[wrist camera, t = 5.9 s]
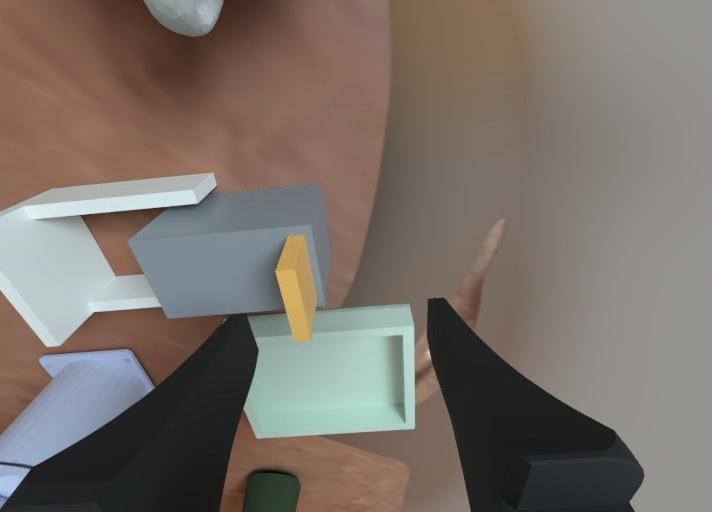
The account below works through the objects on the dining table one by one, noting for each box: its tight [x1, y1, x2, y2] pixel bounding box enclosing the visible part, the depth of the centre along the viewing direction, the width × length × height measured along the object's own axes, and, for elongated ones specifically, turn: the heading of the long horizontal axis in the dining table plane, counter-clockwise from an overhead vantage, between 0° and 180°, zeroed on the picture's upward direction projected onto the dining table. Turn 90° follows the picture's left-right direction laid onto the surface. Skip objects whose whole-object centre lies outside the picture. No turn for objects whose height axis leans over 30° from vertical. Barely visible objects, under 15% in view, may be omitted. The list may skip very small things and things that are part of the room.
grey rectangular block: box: [127, 183, 332, 342], centre depth 18 cm, size 5×9×9 cm, turn 96°
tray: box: [222, 303, 415, 439], centre depth 28 cm, size 13×15×2 cm
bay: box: [0, 173, 217, 347], centre depth 20 cm, size 8×10×6 cm
